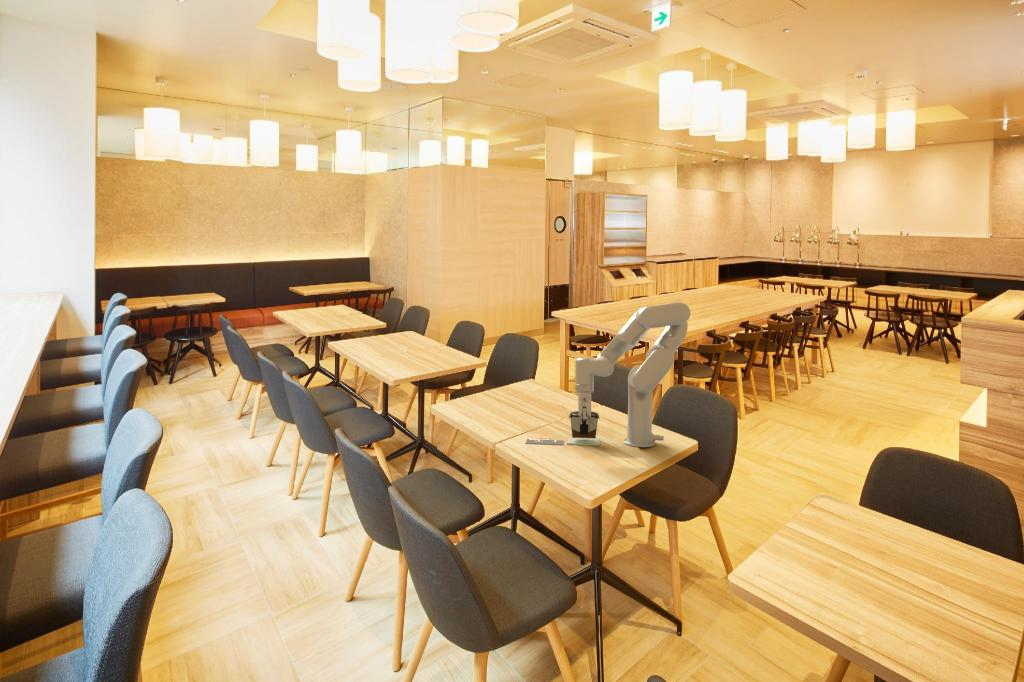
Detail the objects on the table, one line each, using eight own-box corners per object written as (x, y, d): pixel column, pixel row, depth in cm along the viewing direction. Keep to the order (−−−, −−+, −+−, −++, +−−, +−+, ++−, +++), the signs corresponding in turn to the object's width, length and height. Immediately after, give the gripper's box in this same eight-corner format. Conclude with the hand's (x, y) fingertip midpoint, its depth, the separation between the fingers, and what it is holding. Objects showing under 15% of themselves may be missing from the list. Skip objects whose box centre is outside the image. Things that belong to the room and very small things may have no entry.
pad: (598, 438, 230) (598, 437, 230) (599, 445, 219) (600, 444, 219) (567, 437, 231) (567, 436, 231) (567, 444, 220) (567, 443, 220)
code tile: (563, 438, 230) (563, 437, 230) (563, 445, 219) (563, 444, 219) (527, 437, 232) (527, 436, 232) (525, 443, 221) (525, 443, 221)
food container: (598, 434, 228) (598, 410, 227) (599, 438, 221) (599, 414, 221) (568, 434, 229) (568, 410, 228) (568, 437, 223) (568, 413, 222)
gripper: (594, 391, 214) (593, 437, 216) (592, 385, 231) (592, 427, 233) (575, 391, 215) (574, 437, 216) (574, 384, 232) (574, 427, 233)
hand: (583, 431), depth 224 cm, fingers closed on food container, 5 cm apart
